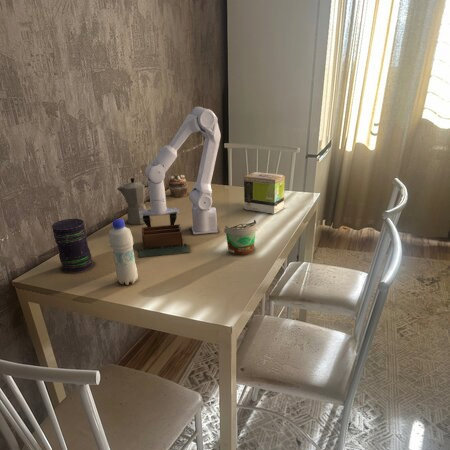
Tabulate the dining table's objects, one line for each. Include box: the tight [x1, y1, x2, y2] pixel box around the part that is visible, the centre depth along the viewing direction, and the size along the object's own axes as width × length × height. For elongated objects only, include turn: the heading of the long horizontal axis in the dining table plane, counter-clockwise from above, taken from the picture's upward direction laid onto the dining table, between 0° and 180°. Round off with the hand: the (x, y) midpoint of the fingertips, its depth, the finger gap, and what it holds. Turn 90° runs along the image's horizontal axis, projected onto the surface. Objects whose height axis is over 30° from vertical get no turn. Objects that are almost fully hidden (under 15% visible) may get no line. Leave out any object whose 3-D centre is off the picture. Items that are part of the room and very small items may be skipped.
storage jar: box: [51, 218, 94, 274], centre depth 134 cm, size 10×10×15 cm
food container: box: [223, 219, 259, 256], centre depth 141 cm, size 12×6×10 cm, turn 118°
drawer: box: [141, 223, 184, 249], centre depth 152 cm, size 5×14×11 cm
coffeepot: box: [116, 177, 150, 225], centre depth 170 cm, size 15×9×18 cm, turn 113°
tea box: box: [243, 171, 286, 215], centre depth 179 cm, size 15×10×15 cm
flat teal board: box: [138, 242, 190, 258], centre depth 147 cm, size 7×17×1 cm, turn 100°
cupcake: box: [168, 173, 189, 198], centre depth 203 cm, size 10×10×10 cm
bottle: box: [108, 218, 139, 286], centre depth 123 cm, size 7×7×20 cm
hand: (161, 233), depth 157 cm, fingers open, 7 cm apart
